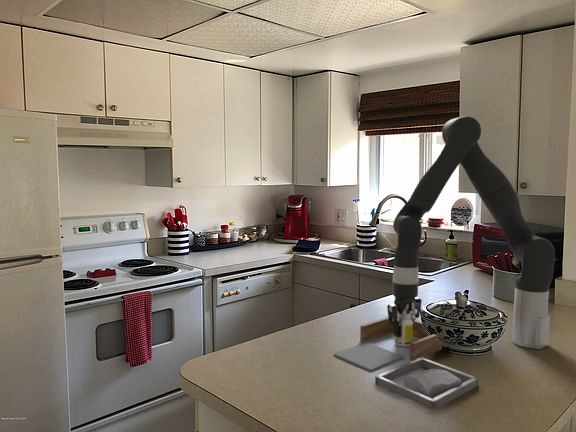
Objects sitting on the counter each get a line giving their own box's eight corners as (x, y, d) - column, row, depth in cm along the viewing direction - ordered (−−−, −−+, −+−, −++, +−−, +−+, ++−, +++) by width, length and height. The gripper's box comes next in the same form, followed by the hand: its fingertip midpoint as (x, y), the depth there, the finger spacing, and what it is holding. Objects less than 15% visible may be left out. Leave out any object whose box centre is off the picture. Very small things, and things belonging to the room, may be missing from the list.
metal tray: (477, 385, 124) (478, 378, 123) (432, 410, 112) (433, 401, 112) (421, 364, 137) (421, 357, 137) (375, 383, 125) (375, 376, 125)
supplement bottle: (413, 341, 153) (414, 311, 152) (411, 348, 148) (412, 316, 147) (395, 339, 155) (396, 309, 154) (393, 345, 150) (394, 314, 149)
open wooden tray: (448, 346, 149) (449, 330, 149) (413, 361, 139) (413, 344, 138) (395, 328, 165) (396, 314, 164) (360, 340, 154) (360, 325, 153)
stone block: (400, 393, 124) (429, 403, 115) (399, 374, 124) (427, 382, 115) (435, 385, 129) (465, 393, 121) (434, 366, 130) (464, 373, 121)
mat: (403, 358, 141) (403, 356, 141) (370, 371, 132) (370, 369, 132) (366, 343, 151) (366, 342, 151) (333, 355, 143) (333, 353, 143)
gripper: (400, 286, 142) (398, 343, 144) (430, 279, 151) (428, 332, 153) (380, 281, 148) (378, 336, 150) (410, 274, 157) (408, 326, 159)
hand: (403, 334), depth 151 cm, fingers closed on supplement bottle, 5 cm apart
